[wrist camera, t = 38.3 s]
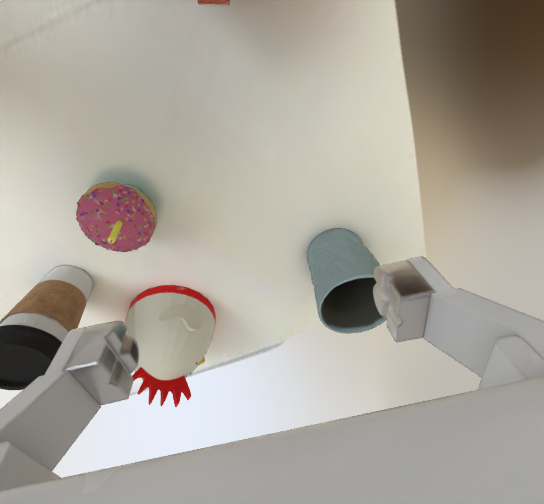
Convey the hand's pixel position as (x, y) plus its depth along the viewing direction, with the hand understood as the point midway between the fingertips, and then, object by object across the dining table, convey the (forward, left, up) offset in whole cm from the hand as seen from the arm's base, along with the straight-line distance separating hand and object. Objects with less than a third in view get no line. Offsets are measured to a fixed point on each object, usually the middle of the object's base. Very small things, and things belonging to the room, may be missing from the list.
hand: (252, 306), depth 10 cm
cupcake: (-14, -10, -31) cm, 36 cm away
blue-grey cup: (+14, -20, -31) cm, 40 cm away
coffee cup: (-25, -22, -31) cm, 46 cm away
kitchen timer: (-12, -31, -31) cm, 46 cm away
